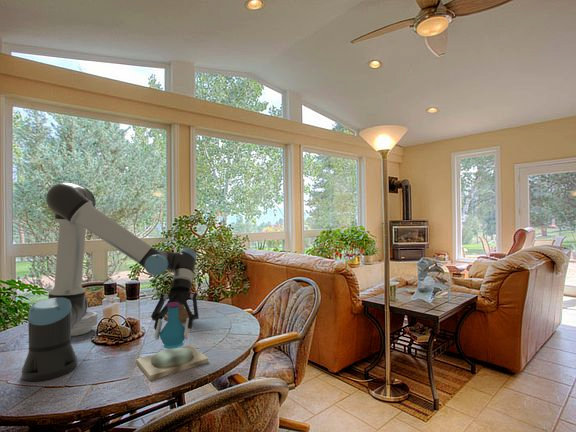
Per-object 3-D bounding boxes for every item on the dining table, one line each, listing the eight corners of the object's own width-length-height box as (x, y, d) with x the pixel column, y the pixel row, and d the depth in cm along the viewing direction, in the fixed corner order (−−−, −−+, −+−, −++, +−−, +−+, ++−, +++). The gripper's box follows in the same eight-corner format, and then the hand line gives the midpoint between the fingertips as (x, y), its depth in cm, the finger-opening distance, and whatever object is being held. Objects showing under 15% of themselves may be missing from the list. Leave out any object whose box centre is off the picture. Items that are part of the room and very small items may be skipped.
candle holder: (175, 323, 158) (175, 275, 158) (163, 319, 165) (163, 272, 165) (194, 317, 167) (194, 272, 167) (182, 314, 174) (181, 270, 174)
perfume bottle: (159, 342, 117) (158, 301, 117) (185, 338, 121) (184, 298, 121) (160, 352, 109) (160, 307, 109) (188, 347, 113) (188, 304, 113)
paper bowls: (89, 324, 157) (89, 308, 157) (102, 331, 147) (102, 314, 147) (52, 333, 145) (52, 316, 145) (63, 341, 136) (63, 322, 136)
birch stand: (150, 380, 102) (150, 372, 102) (136, 363, 115) (136, 356, 115) (208, 362, 115) (208, 355, 115) (190, 348, 127) (190, 342, 127)
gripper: (211, 287, 131) (204, 341, 115) (156, 288, 129) (141, 343, 114) (208, 276, 126) (201, 331, 110) (151, 278, 124) (135, 334, 108)
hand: (171, 337), depth 112 cm, fingers closed on perfume bottle, 9 cm apart
